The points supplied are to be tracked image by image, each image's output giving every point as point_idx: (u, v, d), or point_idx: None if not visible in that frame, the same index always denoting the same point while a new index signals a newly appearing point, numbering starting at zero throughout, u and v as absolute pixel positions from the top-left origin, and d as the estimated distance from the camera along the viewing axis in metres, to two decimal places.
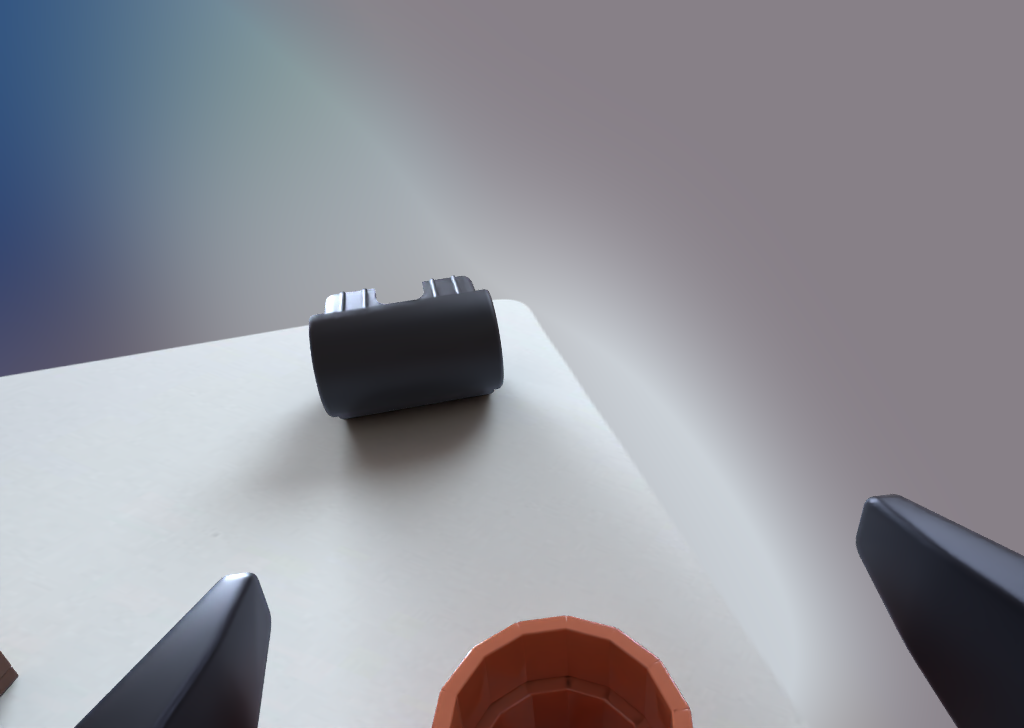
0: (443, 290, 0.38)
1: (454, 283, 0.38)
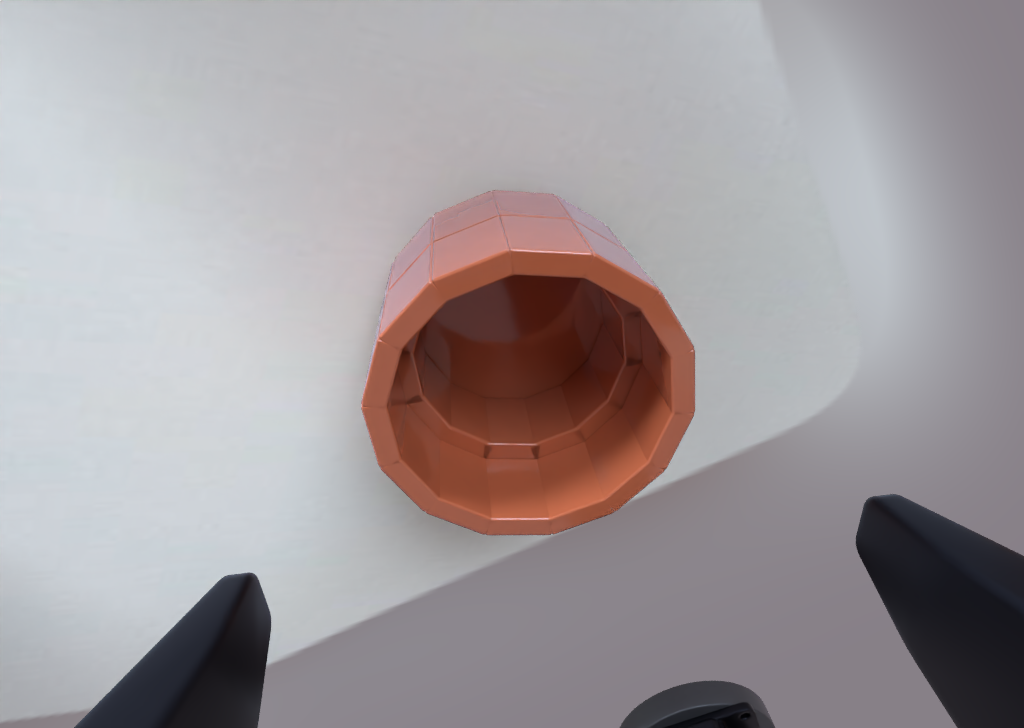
0: None
1: None
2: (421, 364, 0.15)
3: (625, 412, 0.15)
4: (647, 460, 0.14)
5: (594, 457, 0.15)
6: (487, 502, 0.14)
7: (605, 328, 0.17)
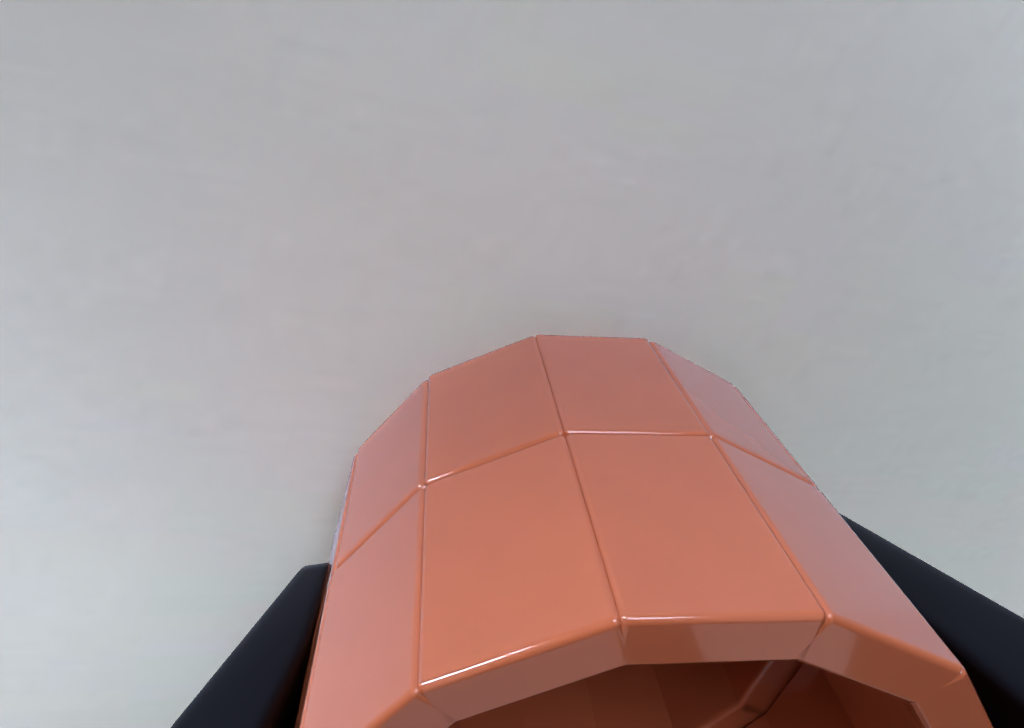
0: None
1: None
2: None
3: None
4: None
5: None
6: None
7: None
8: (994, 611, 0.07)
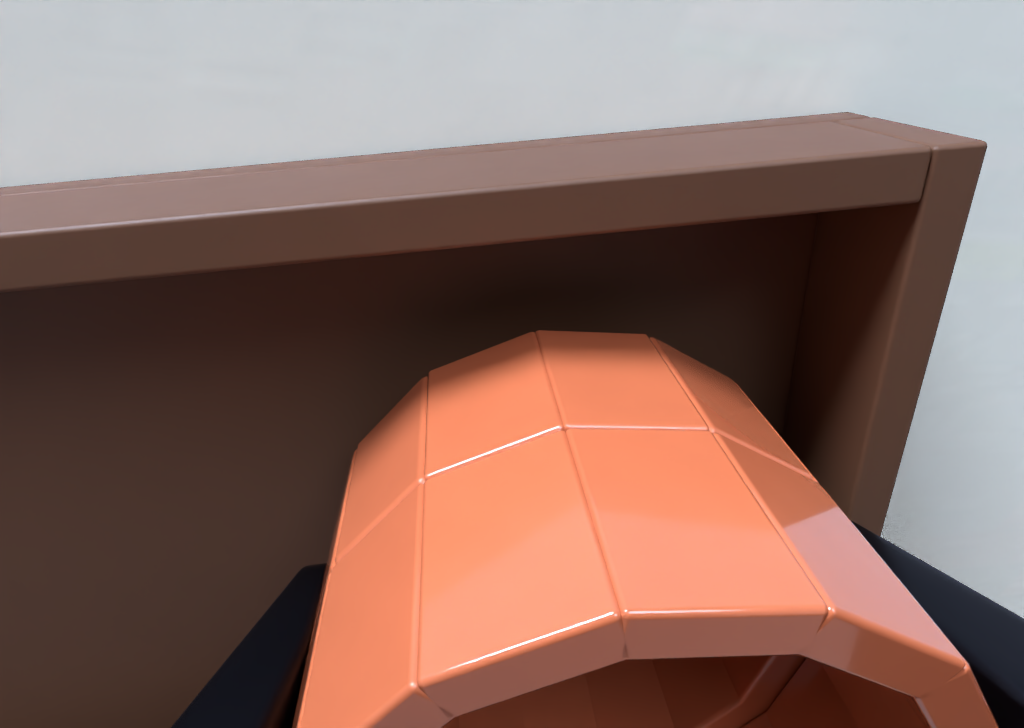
0: None
1: None
2: None
3: None
4: None
5: None
6: None
7: None
8: (994, 611, 0.07)
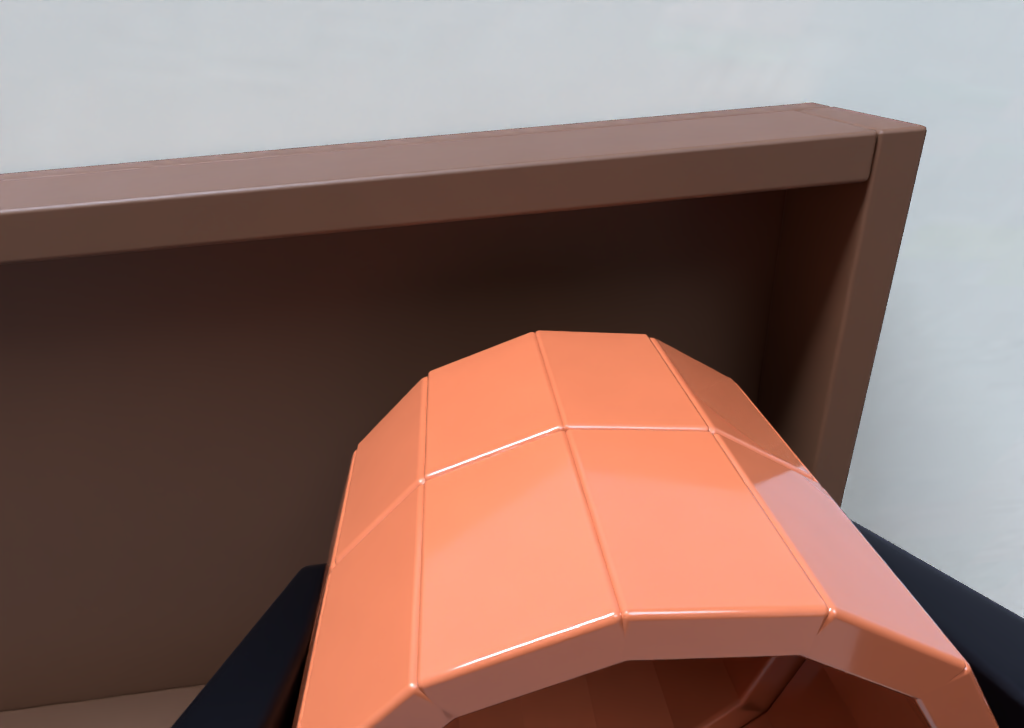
0: None
1: None
2: None
3: None
4: None
5: None
6: None
7: None
8: (994, 611, 0.07)
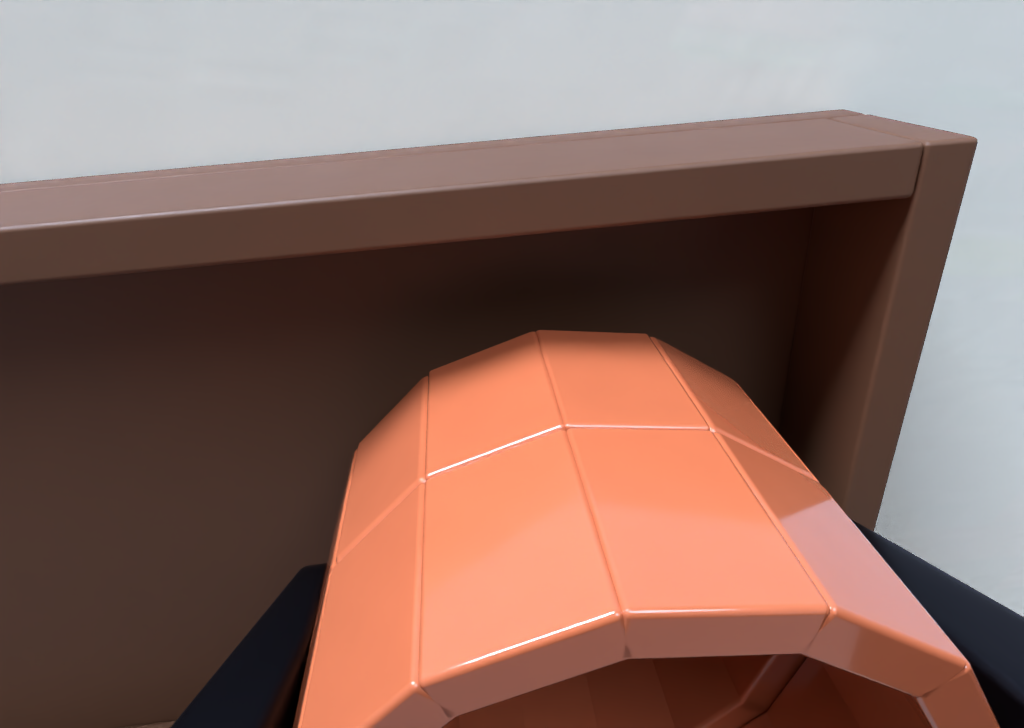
0: None
1: None
2: None
3: None
4: None
5: None
6: None
7: None
8: (996, 611, 0.07)
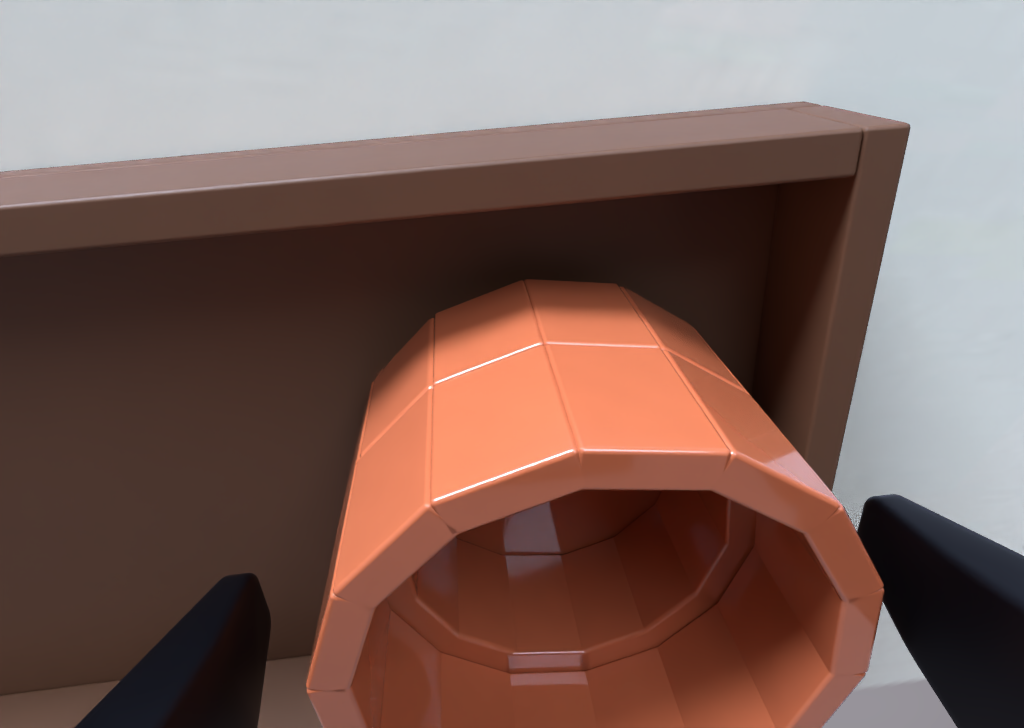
0: None
1: None
2: None
3: (724, 616, 0.10)
4: None
5: (678, 687, 0.10)
6: None
7: None
8: None
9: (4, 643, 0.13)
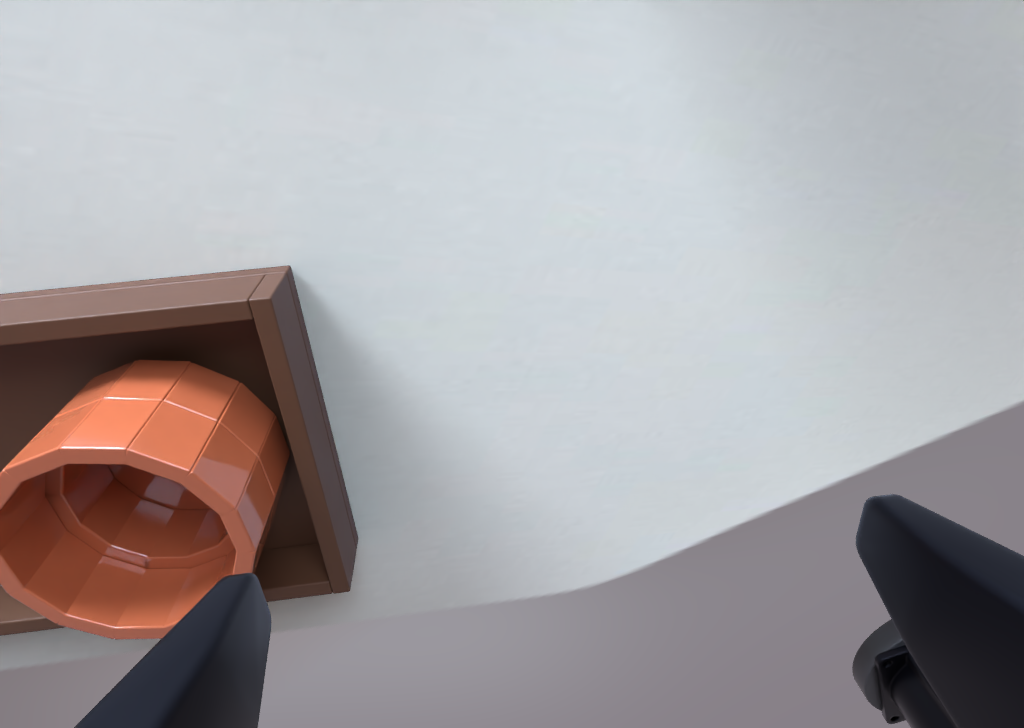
0: None
1: None
2: (89, 495, 0.19)
3: None
4: None
5: (221, 572, 0.19)
6: (119, 612, 0.18)
7: None
8: None
9: None
